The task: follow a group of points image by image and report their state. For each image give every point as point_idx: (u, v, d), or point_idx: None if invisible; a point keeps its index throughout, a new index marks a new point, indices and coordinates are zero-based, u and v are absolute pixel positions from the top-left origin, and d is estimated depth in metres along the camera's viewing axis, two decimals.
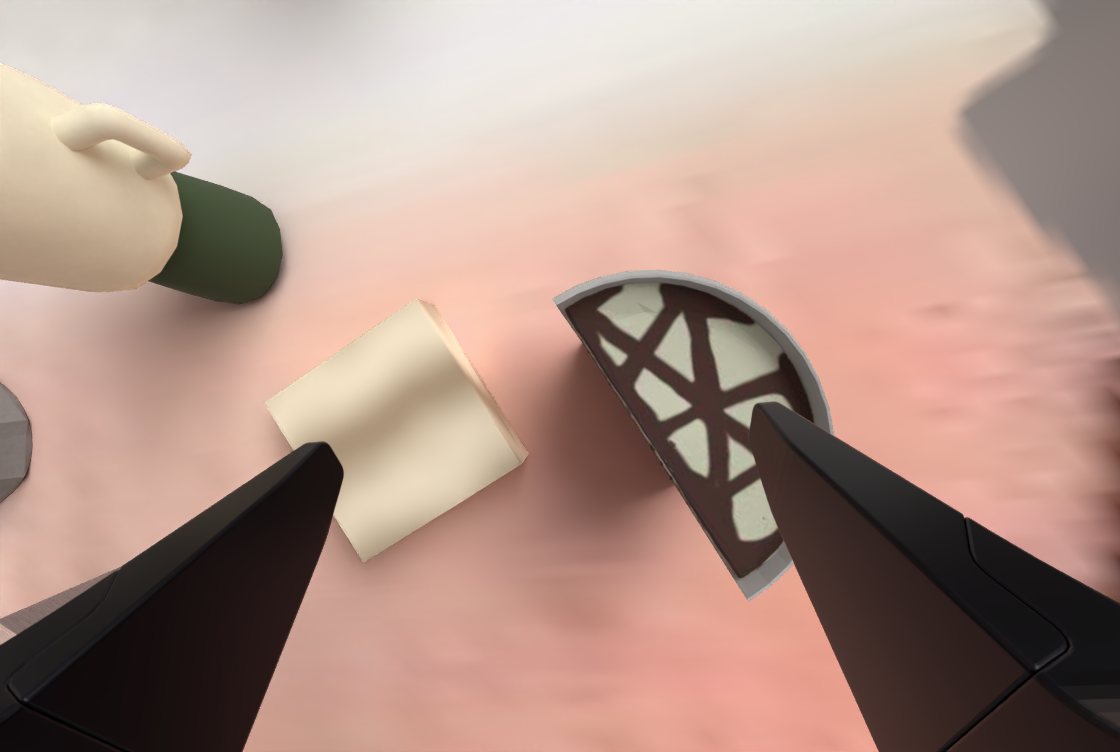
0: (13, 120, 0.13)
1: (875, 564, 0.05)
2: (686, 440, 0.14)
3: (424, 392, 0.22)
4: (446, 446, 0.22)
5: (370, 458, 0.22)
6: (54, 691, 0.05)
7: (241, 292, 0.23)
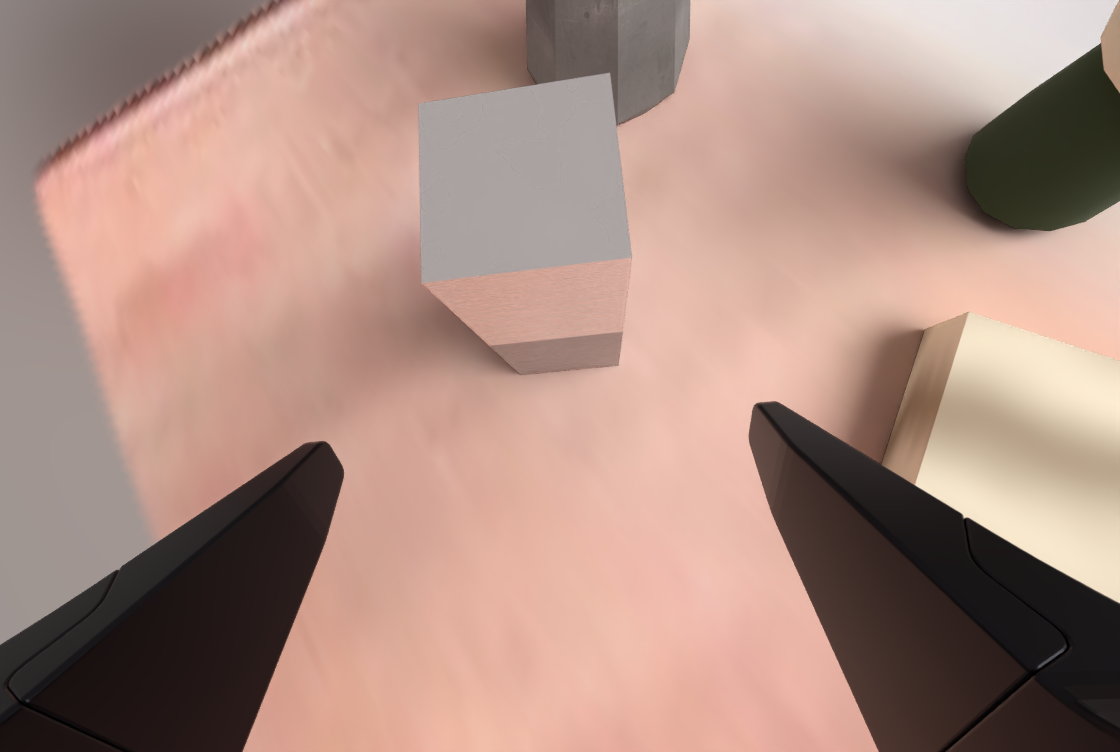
0: None
1: (875, 564, 0.05)
2: None
3: None
4: None
5: (1024, 471, 0.16)
6: (53, 691, 0.05)
7: (1036, 210, 0.19)
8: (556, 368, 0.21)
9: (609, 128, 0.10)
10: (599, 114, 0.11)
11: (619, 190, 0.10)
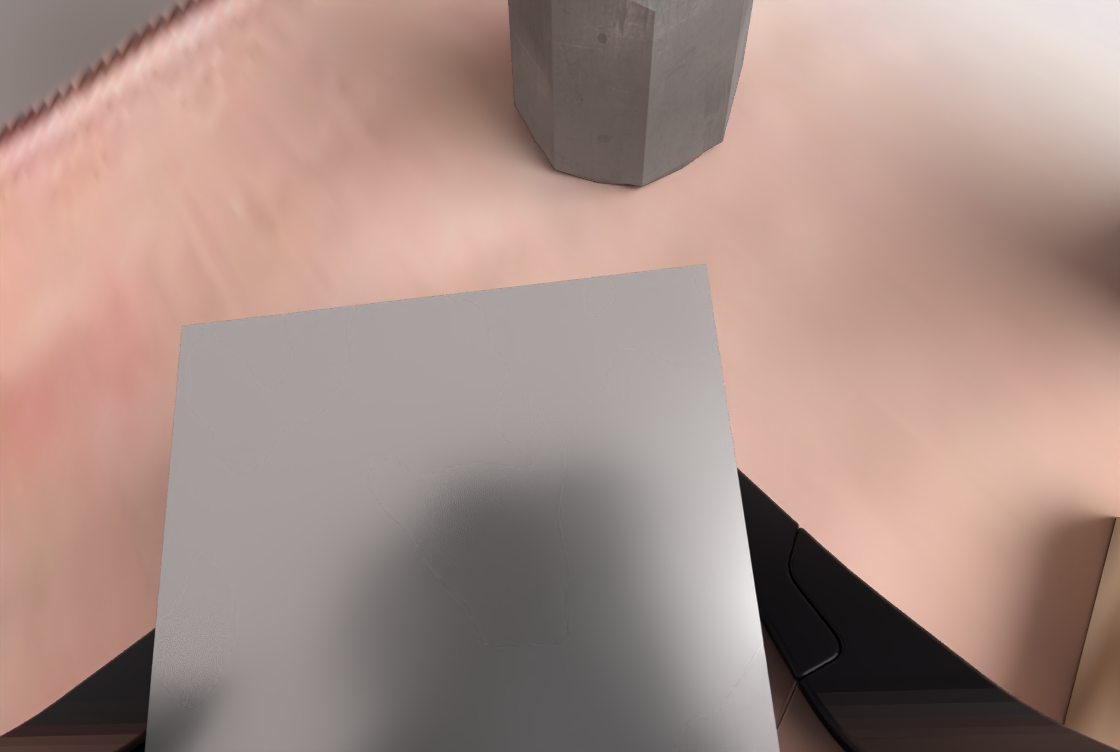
0: None
1: None
2: None
3: None
4: None
5: None
6: None
7: None
8: None
9: (710, 446, 0.03)
10: (679, 398, 0.04)
11: (755, 686, 0.03)
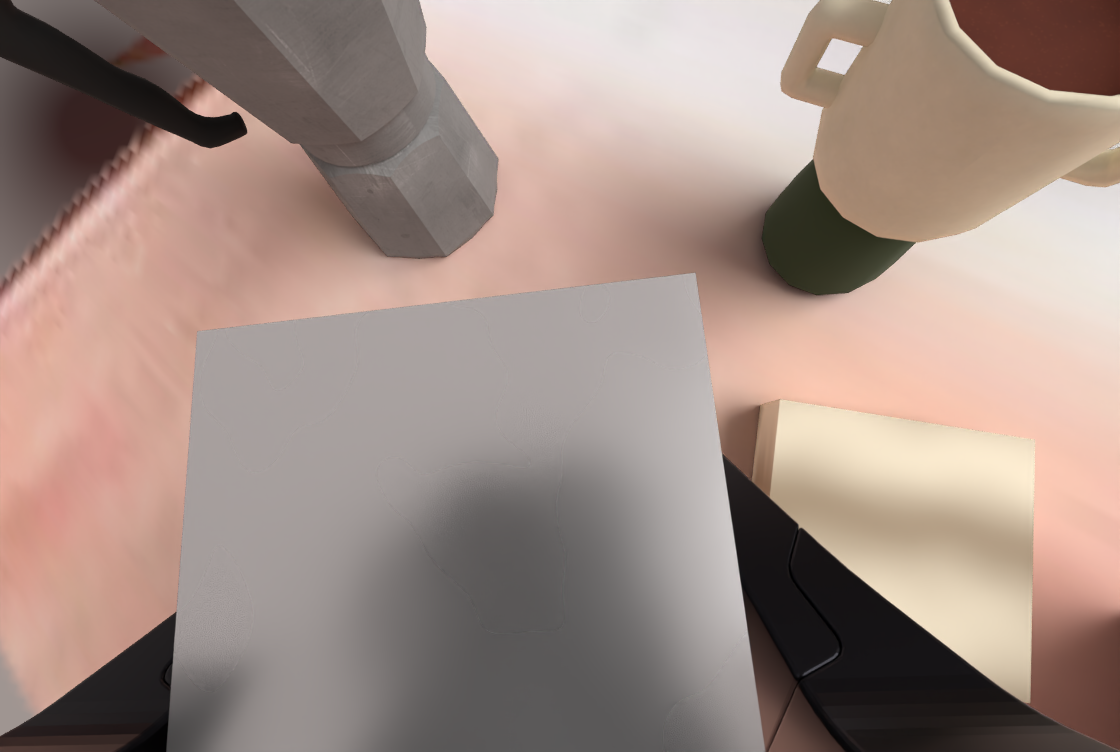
0: None
1: None
2: None
3: (970, 535, 0.17)
4: (952, 608, 0.17)
5: (852, 545, 0.18)
6: None
7: (827, 283, 0.20)
8: None
9: (699, 447, 0.04)
10: (670, 400, 0.04)
11: (739, 669, 0.03)
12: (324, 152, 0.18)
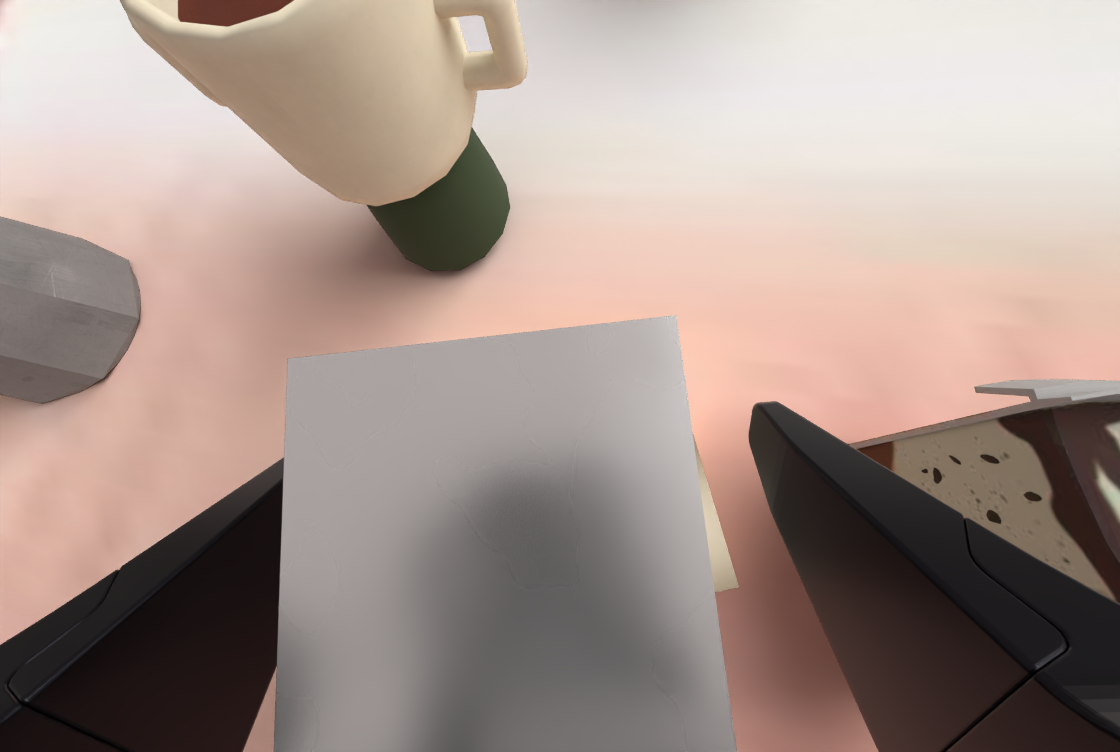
0: None
1: (875, 564, 0.05)
2: None
3: None
4: None
5: None
6: (54, 691, 0.05)
7: (447, 257, 0.20)
8: None
9: (677, 448, 0.05)
10: (656, 413, 0.05)
11: (707, 612, 0.05)
12: None
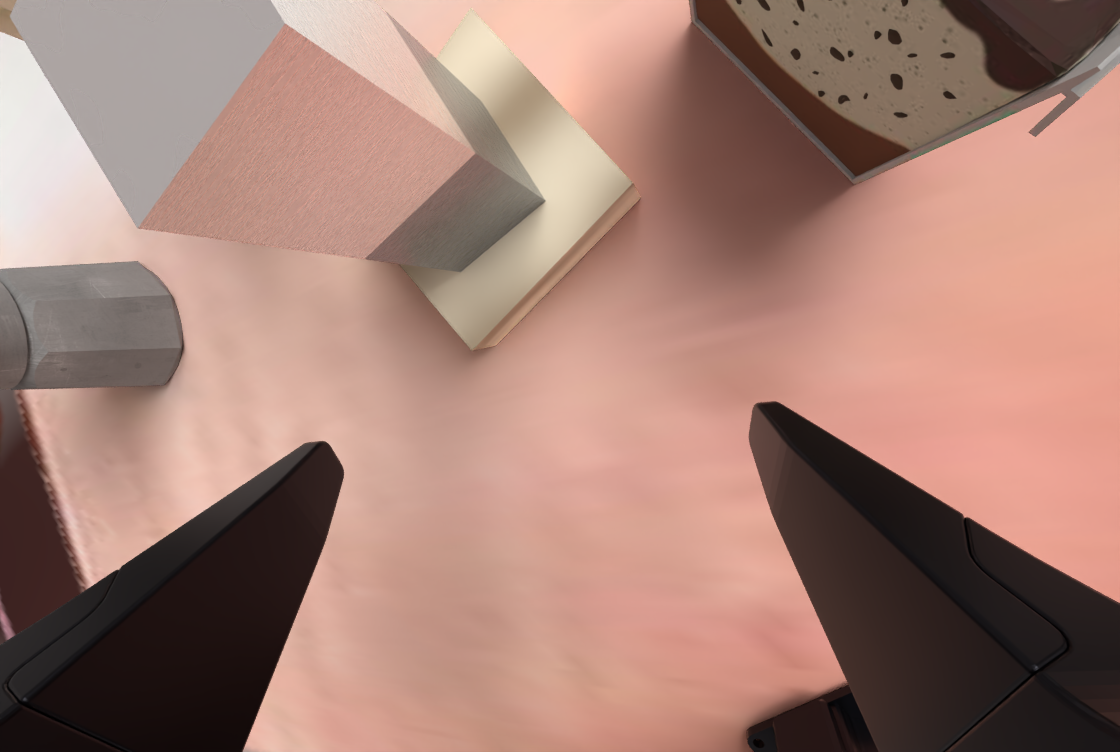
0: None
1: (875, 564, 0.05)
2: None
3: (501, 126, 0.18)
4: (538, 186, 0.18)
5: None
6: (53, 691, 0.05)
7: None
8: (484, 243, 0.18)
9: None
10: None
11: None
12: None
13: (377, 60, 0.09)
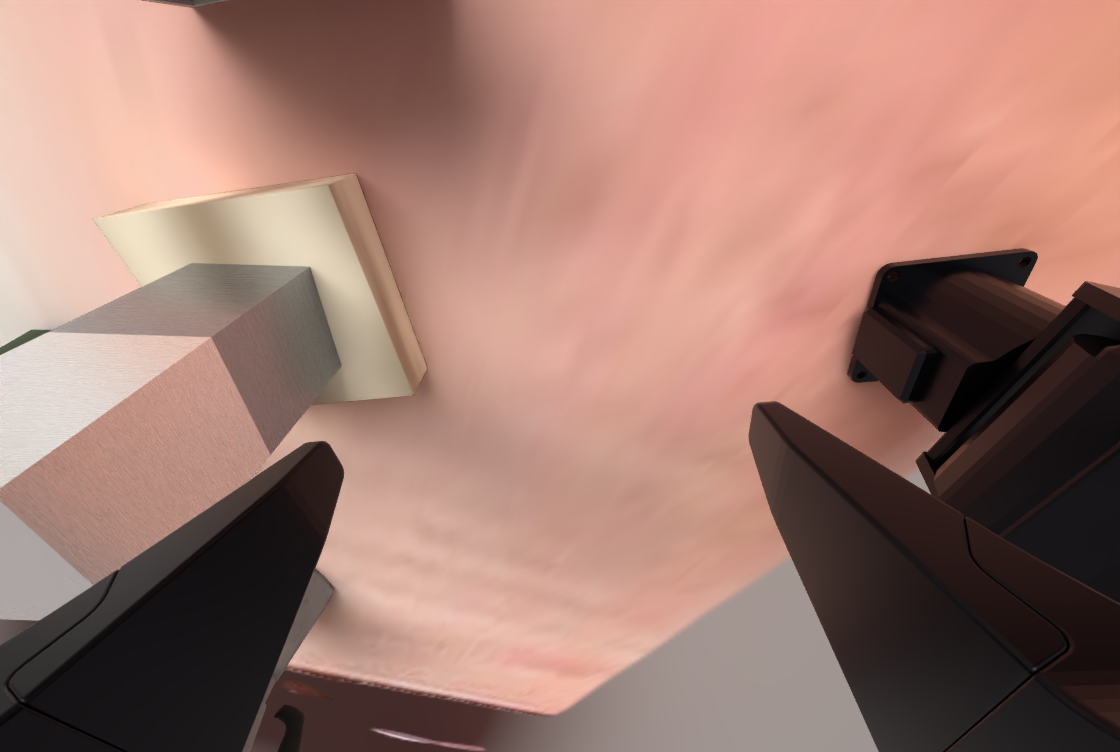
0: None
1: (875, 564, 0.05)
2: None
3: (222, 260, 0.18)
4: (293, 264, 0.18)
5: None
6: (53, 691, 0.05)
7: None
8: (323, 338, 0.19)
9: None
10: None
11: None
12: None
13: (75, 397, 0.11)
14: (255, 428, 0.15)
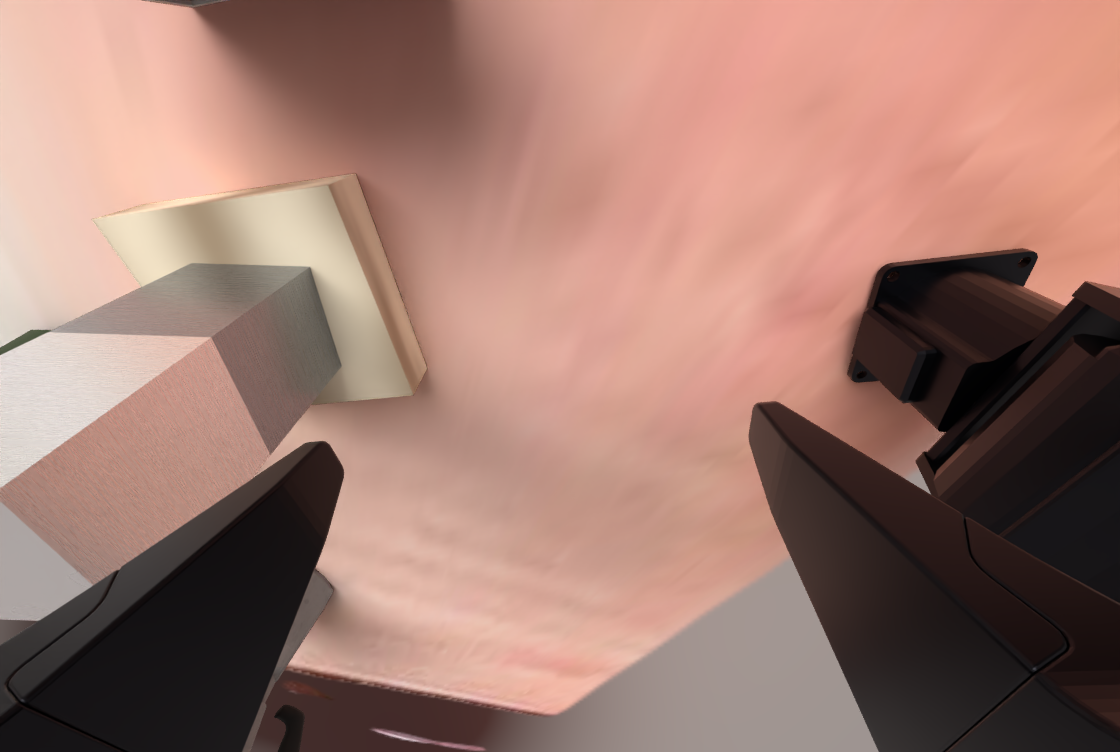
0: None
1: (875, 564, 0.05)
2: None
3: (222, 261, 0.18)
4: (293, 264, 0.18)
5: None
6: (52, 692, 0.05)
7: None
8: (323, 338, 0.19)
9: None
10: None
11: None
12: None
13: (75, 398, 0.11)
14: (255, 428, 0.15)
